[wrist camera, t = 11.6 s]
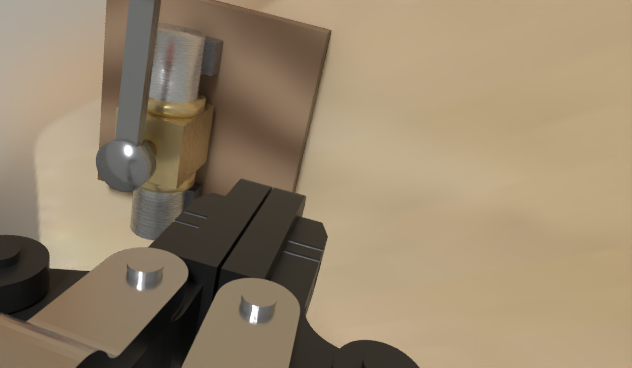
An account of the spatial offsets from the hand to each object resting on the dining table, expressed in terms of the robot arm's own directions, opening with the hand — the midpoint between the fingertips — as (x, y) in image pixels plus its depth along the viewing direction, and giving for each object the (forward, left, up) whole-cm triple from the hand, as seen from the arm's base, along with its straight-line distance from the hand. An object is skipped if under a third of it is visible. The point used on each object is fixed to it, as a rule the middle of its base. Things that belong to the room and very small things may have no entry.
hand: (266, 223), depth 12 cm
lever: (-1, +10, -14) cm, 18 cm away
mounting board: (-6, +9, -23) cm, 25 cm away
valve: (-7, +10, -21) cm, 25 cm away
